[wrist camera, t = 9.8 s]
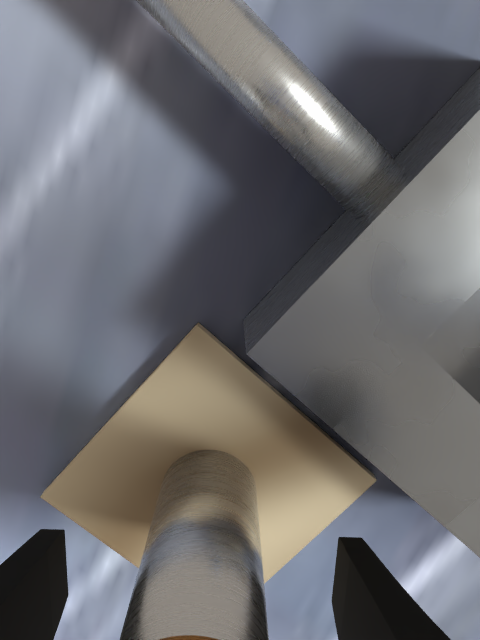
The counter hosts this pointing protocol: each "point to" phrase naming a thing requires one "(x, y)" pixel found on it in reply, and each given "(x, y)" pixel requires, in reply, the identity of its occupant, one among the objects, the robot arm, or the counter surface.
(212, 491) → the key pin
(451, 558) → the counter surface
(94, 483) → the cork mat
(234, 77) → the block
